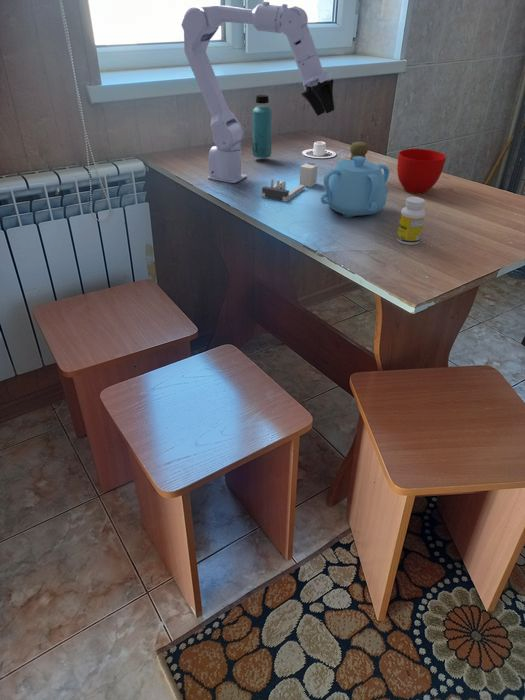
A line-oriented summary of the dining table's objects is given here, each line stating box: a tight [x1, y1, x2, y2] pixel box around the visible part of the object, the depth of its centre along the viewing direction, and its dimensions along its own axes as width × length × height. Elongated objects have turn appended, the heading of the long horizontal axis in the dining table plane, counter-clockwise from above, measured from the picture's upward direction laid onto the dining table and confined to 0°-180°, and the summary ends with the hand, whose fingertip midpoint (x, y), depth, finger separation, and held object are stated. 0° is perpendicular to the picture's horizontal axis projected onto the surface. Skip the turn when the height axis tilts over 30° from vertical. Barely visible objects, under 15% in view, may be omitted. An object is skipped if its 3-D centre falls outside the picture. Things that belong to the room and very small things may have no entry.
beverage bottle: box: [251, 94, 273, 159], centre depth 167 cm, size 6×7×20 cm
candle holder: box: [301, 141, 337, 159], centre depth 179 cm, size 12×12×4 cm
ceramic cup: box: [396, 148, 447, 194], centre depth 148 cm, size 13×17×10 cm
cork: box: [349, 141, 369, 160], centre depth 153 cm, size 6×6×11 cm
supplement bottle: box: [396, 196, 426, 246], centre depth 116 cm, size 5×5×10 cm
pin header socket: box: [260, 178, 305, 202], centre depth 144 cm, size 8×12×4 cm, turn 152°
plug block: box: [299, 162, 319, 188], centre depth 151 cm, size 4×4×6 cm
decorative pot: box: [320, 156, 390, 219], centre depth 131 cm, size 16×16×14 cm
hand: (325, 113), depth 136 cm, fingers open, 7 cm apart
